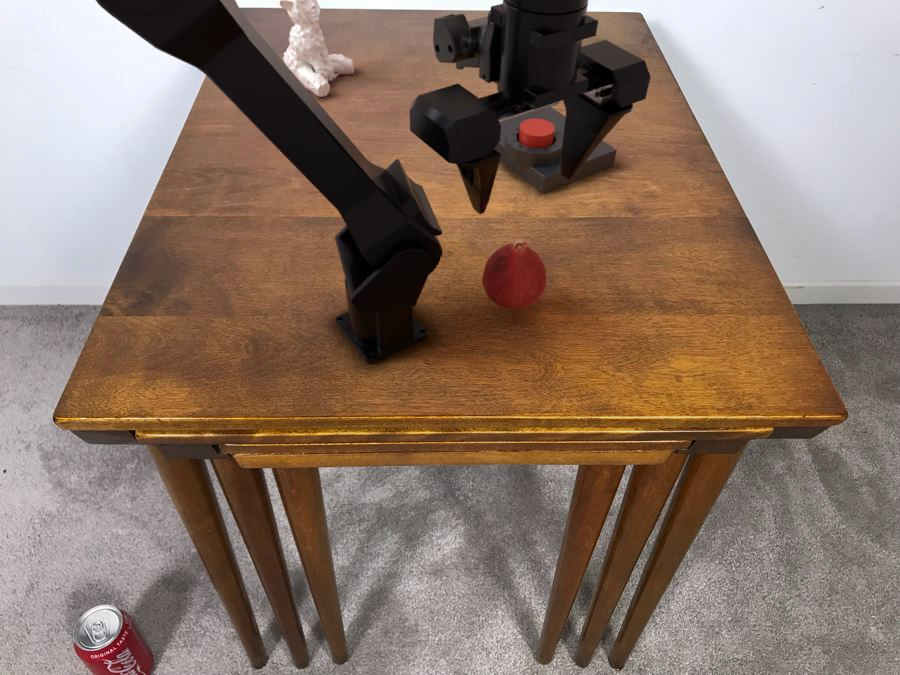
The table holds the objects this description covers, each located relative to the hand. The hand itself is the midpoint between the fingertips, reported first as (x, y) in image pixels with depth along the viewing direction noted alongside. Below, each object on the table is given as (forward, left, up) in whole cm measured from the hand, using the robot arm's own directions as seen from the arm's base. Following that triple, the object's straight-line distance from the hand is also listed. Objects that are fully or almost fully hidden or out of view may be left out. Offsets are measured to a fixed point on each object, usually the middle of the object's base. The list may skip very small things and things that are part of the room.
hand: (523, 193), depth 59 cm
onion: (0, 0, -13) cm, 13 cm away
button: (+18, -17, -9) cm, 26 cm away
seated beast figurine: (+52, -5, -13) cm, 54 cm away
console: (+20, -20, -13) cm, 31 cm away
